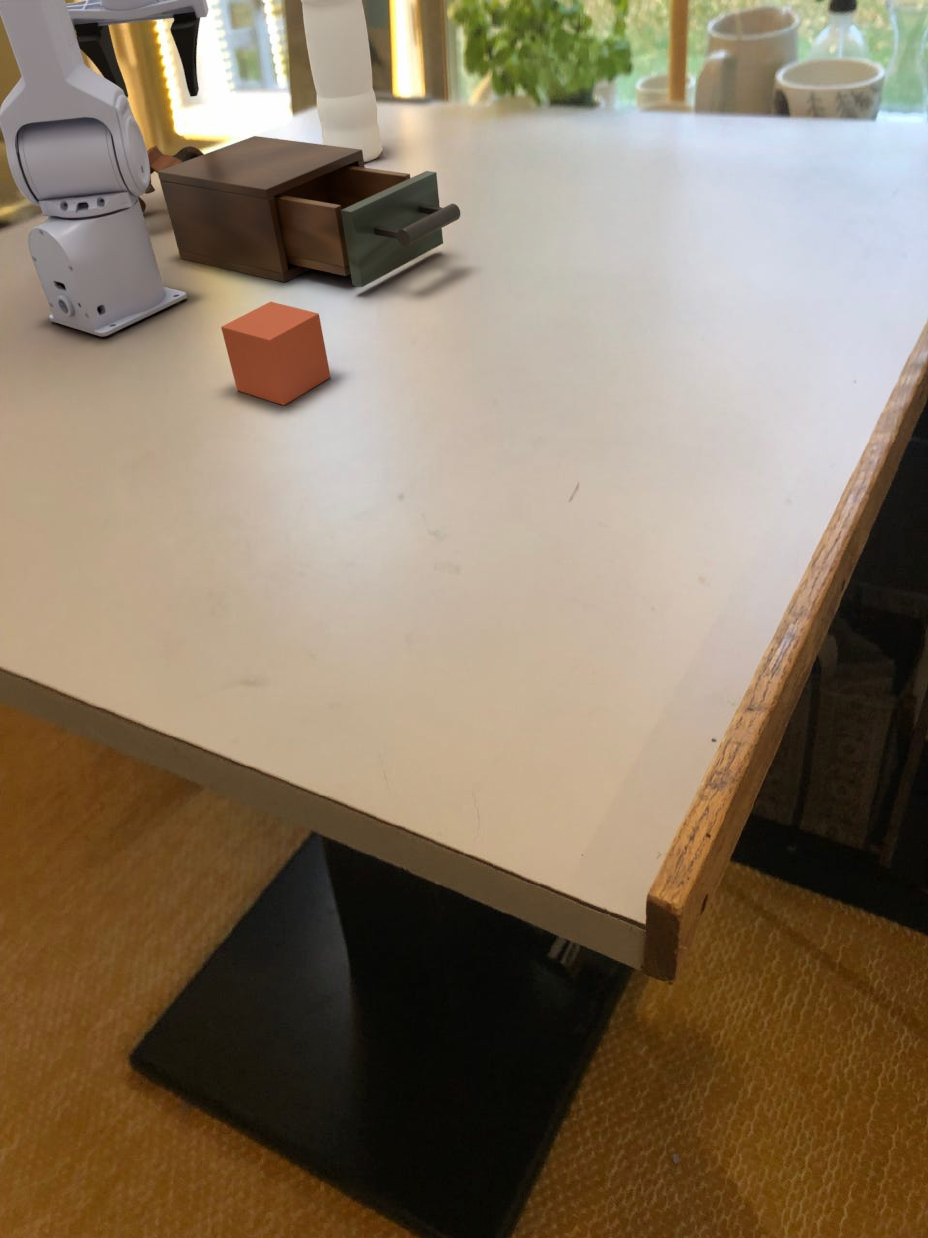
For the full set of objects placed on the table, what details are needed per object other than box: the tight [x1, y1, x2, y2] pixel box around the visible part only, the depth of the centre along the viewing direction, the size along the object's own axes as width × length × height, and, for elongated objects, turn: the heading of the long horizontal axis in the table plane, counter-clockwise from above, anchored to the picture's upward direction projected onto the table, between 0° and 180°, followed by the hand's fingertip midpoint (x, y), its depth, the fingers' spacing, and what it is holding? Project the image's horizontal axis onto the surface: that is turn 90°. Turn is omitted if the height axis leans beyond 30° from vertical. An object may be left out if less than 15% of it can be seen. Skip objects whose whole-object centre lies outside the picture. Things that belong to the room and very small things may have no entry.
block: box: [220, 301, 331, 406], centre depth 71 cm, size 5×5×5 cm
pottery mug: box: [138, 145, 205, 214], centre depth 105 cm, size 12×10×8 cm
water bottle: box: [300, 0, 383, 163], centre depth 111 cm, size 7×7×25 cm
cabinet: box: [157, 135, 366, 283], centre depth 94 cm, size 15×13×8 cm
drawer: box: [273, 165, 461, 288], centre depth 88 cm, size 18×11×6 cm, turn 53°
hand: (159, 96), depth 105 cm, fingers open, 7 cm apart
